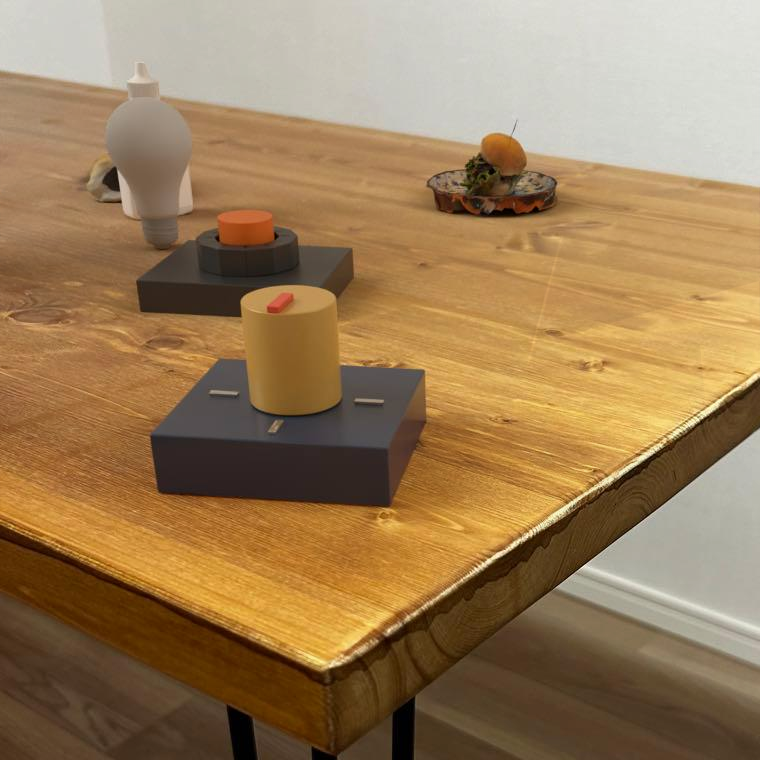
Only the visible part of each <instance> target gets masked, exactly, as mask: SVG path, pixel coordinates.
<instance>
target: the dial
mask: <svg viewBox="0 0 760 760" xmlns="http://www.w3.org/2000/svg"><path fill="white" fill-rule="evenodd" d="M337 305H338V304H337V300H336V297H335V295H334V294H333V293H331V292H330V291H327V290H325V289H321V288H317V287H311V286H301V285H284V286H274V287H267V288H263V289H259V290H255V291H253V292H250V293H248V294H246V295H245V296H244V297H243V298H242V299H241V313H242V317H241V322H242V323H241V324H242V333H243V341H244V352H245V360H246V363H247V373H248V383H249V393H250V401H251V403H252V405H253V406H254V407H255V408H257V409H258V410H261V411H263V412H266V413H270V414H276V415H306V414H313V413H317V412H321V411H324V410H327V409H329V408H332V407H333V406H335V405H336V404H338V403H339V402H340V400H341V398H342V387H341V371H340V365H341V356H340V339H339V338H340V337H339V323H338V320H339V319H338V306H337Z"/></svg>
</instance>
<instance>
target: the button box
mask: <svg viewBox="0 0 760 760" xmlns="http://www.w3.org/2000/svg"><path fill="white" fill-rule="evenodd" d="M273 226H274V238H275V241H271V242H268V243H264V244H255V245H229V244H225V243H221V242H220V238H219V229H218V227H216V228H211V229H208V230H204V231H203V232H202V233H200V234H199V235H198V236H196V237H195V239H188V240H187V241H185V242H184V243H183V244H182V245H180V246H179V247H178V248H177V249H175V250H174V251H172V252H171V253H170V254H168V255H167V256H166V257H164V258H163V259H162V260H160V261H159V262H158V263H157V264H155V265H154V266H153V267H151V268H150V269H149V270H148V271H146V272H145V273H144V274H142V275H141V276H139V277H138V278H137V279H136V281H135V283H136V289H137V296H138V297H137V298H138V303H139V310H140V311H139V312H140V313H149V314H168V315H169V314H170V315H186V316H187V315H190V316H206V317H207V316H208V317H225V318H226V317H227V318H242V313H241V299H242V298H243V297H244V296H245V295H246V294H248V293H250V292H253V291H255V290H259V289H263V288H267V287H274V286H284V285H301V286H311V287H317V288H321V289H325V290H327V291H330V292H331V293H333V294H334V295H335V297H336V301H337V300H338V299H339V297H340V296H341V295H342V294H343V292H344V291H345V290H346V288H347V287H348V286H349V285H350V283H351V282H352V281H353V279H354V278H355V268H354V250H353V248H352V247H343V246H341V247H340V246H322V245H321V246H319V245H302V244H301V245H299V236H298V234H297V233H296V232H294V231H293V230H292V229H290V228H286V227H281V226H277V225H273Z"/></svg>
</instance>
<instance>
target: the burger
mask: <svg viewBox="0 0 760 760" xmlns="http://www.w3.org/2000/svg"><path fill="white" fill-rule="evenodd" d="M517 122H518V118H516V121H515V124H514V126H513V130H512V132H511V134H510V135H508V134H506V133H503V132H492V133H489V134H487V135H486V136H484V137H482V139H481V142H480V149H478V151H477V152H476V155H473V156H472V158H471V159H470V158H469V159H468V162H467V163H464V169H462V168H461V169H453V170H446V171H445V170H444V171H441V172H440V173H436V174H434V175H433V176H431V177H430V178H429V179H428V180H427V181H426V185H425V187H426V188H429V189H431V190H432V192H433V197H434V203H435V208H436V210H437V211H441V210H442V211H443V212H448V213H453V212H454V208H455V207H454V202H460V203H461V204H462V206H463V207H464V208H465V209H466V210H467V211H468V212H470V213H473V214H475V215H480V214H481V213H482V212H483V213H485V214H486V215H489V214H490V213H492V212H493V210H495V211H497V210H498V211H500V212H502V211H504V209H508V210H509V209H512V210H513V212H515V214H517V215H519V214H521V213H529V212H531V211H532V210H534V208H535V207H537V208H538V211H541V210H545V209H549V208H551V207H553V206H554V205H556V204H557V203H558V200H559V197H558V196H557V195H556V188H557V186H558V181H557V180H556V179H555V178H554V177H553V176H551V175H550V176H549V175H546V174H544V173H541V172H537V171H529V170H525V168H526V167H527V165H528V160H527V159H528V158H527V154H526V152H525V150H524V148H523V146H522V144H521V143H520V142H519V140H517V139H516V138H515V137H513V134H514V132H515V129H516V127H517Z"/></svg>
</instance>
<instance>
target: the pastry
mask: <svg viewBox="0 0 760 760" xmlns="http://www.w3.org/2000/svg"><path fill="white" fill-rule="evenodd" d="M86 189H87V192H88V193H90V195H91V196H92V197H93V198H94V200H96V201H97V202H102V203H103V202H113V203H117V202H122V199H121V192H120V185H119V178H118V171H117V168H116V166H115V165H114V163H113V161H112V160H111V158H110V156H109V154H108V153H105V154H103V155H102V156H101V157H98V158H95V160H94V162H93V163H92V164H91V167H90V169H89V180H88V182H87V183H86Z"/></svg>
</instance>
